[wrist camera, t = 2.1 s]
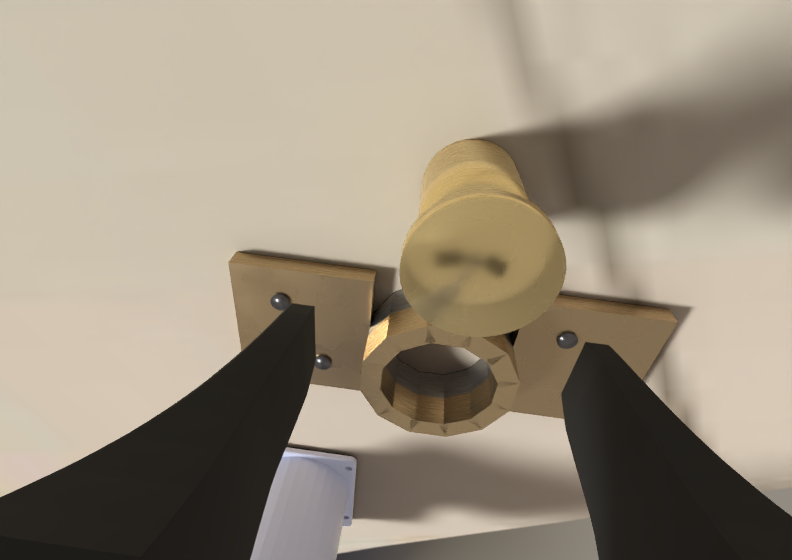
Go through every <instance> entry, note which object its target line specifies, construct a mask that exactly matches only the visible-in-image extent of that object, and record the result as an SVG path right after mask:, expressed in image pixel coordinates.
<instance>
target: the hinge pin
mask: <svg viewBox="0 0 792 560" xmlns="http://www.w3.org/2000/svg"><path fill="white" fill-rule="evenodd" d="M565 273H566V257H565V252H564V248H563V246H562V243H561V240H560V238H559V236H558V234H557V231H556V229H555V227H554V226H553V224H552V222H551V220H550V219H549V218H548V216H547V215H546V214H545V213H544V212H543V211H542V210H541V209H540V208H539V207H538V206H537V205H535V204H534V203H532V202H531V201H529V199H528V196H527V194H526V191H525V189H524V186H523V183H522V181H521V178H520V176H519V173H518V171H517V168H516V165H515V163H514V162H513V160H512V158H511V157H510V156H509V154H508V153H507V152H506V151H504V150H503V149H502V148H501V147H499V146H498V145H496V144H494V143H491V142H488V141H485V140H479V139H468V140H462V141H458V142H455V143H452V144H450V145H448V146H446V147H445V148H443V149H442V150H441V151H439V152H438V153H437V154H436V155H435V156H434V157H433V158H432V160H431V161H430V163H429V164H428V166H427V168H426V170H425V173H424V176H423V181H422V189H421V198H420V207H419V216H418V218H417V220H416V221H415V222H414V224H413V225H412V226H411V228H410V230H409V232H408V234H407V236H406V239H405V241H404V245H403V250H402V256H401V262H400V282H401V286H402V290H403V292H404V295H405V297H406V299H407V301H408V302H409V304H410V305H411V307H412V308H413V309H414V310H415V311H416V313H417V314H418V315H420V316H421V317H422V318H423V319H424V320H426V321H427V322H428V323H430V324H432V325H433V326H435V327H437V328H439V329H441V330H444V331H446V332H449V333H453V334H456V335H462V336H469V337H489V336H496V335H501V334H505V333H509V332H512V331H515V330H517V329H519V328H522V327H524V326H526V325H527V324H529V323H531V322H533V321H534V320H535V319H537V318H538V317H540V316H541V315H542V314H543V313H544V312H545V311H546V310H547V309H548V308H549V307H550V306H551V305H552V303H553V302H554V301H555V299H556V298H557V296H558V294H559V292H560V290H561V288H562V286H563V282H564V279H565Z"/></svg>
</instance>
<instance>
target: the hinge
mask: <svg viewBox="0 0 792 560" xmlns="http://www.w3.org/2000/svg"><path fill="white" fill-rule="evenodd" d="M228 263H229V270H230V276H231V283H232V290H233V296H234V303H235V310H236V316H237V323H238V330H239V337H240V343H241V350H244V349H245V348H246V347H247V346H248V345H249V344H250V343H251V342H252V341H253V340H254V339H256V338H257V337H258V336H259V335H260V334H261V333H262V332H263V331H264V330H265V329H266V328H267V327H268V326H269V325H270V324H271V323H272V322H273V321H274V320H275V319H276V318H277V317H278V316H279V315H280V314H281V313H282V312H283V311H284V310H285V309H286V308H287V307H288V306H289V305H290V304H292V303H294V304H302V305H309V306H315V347H316V362H315V366H314V370H313V373H312V377H311V381H310V384H316V385H324V386H331V387H338V388H345V389H352V390H360V391H361V392H362V393H363V395H364V396H365V398H366V399H367V401H368V402H369V403H370V405H371V406H372V408H373V409H374V411H375V412H376V413H377V415H379V416H380V417H382V418H384V419H386V420H388V421H390V422H392V423H394V424H395V425H397V426H399V427H401V428H403V429H405V430H407V431H409V432H416V433H423V434H430V435H438V436H446V437H447V436H452V435H457V434H462V433H467V432H472V431H477V430H482V429H484V428H485V427H487V426H488V425H490V424H491V423H492V422H494V421H495V420H497V419H498V418H500V417H501V416H503V415H504V414H506V413H507V412H509V411H512V412H519V413H526V414H534V415H541V416H548V417H555V418H563V419H564V413H563V405H562V397H561V393H562V391H563V389H564V386H565V384H566V382H567V380H568V378H569V376H570V374H571V372H572V369H573V367H574V365H575V363H576V361H577V359H578V357H579V355H580V352H581V350H582V348H583V346H584V344H585V342H590V343H598V344H605V345H609V346H610V347H611V348H612V349H613V350H614V351H615V352H616V353H617V354H618V355H619V356H620V357H621V358H622V359H623V360H624V361H625V362H626V363H627V364H628V365H629V366H630V367H631V369H632V370H633V371H634V372H635V373H636V374H637V375H638V376H639V377H640V378H641V379H642V380H643V378H644V376H645V375H646V373H647V371H648V370H649V368H650V367H651V365H652V363H653V362H654V360H655V359H656V357H657V355H658V354H659V352H660V350H661V349H662V347H663V346H664V344H665V342H666V341H667V339H668V337H669V336H670V334H671V333H672V331H673V329H674V328H675V326H676V325H677V323H678V321H677V320H676V319H675V317H674V316H673V314H672V313H671V311H670V310H669V309H663V308H656V307H648V306H641V305H633V304H626V303H618V302H610V301H603V300H595V299H588V298H580V297H573V296H565V295H558V296H557V298H556V299H555V301H554V302H553V303H552V305H551V306H550V307H549V308H548V309H547V310H546V311H545V312H544V313H543V314H542V315H541V316H540V317H538V318H537V319H535V320H534V321H533V322H531V323H529V324H527V325H526V326H524V327H522V328H519V329H517V330H515V331H512V332H511V333H510V332H509V333H505V334H501V335H496V336H489V337H469V336H462V335H456V334H453V333H449V332H446V331H444V330H441V329H439V328H437V327H435V326H433V325H432V324H430V323H428V322H427V321H426V320H424V319H423V318H422V317H421V316H420V315H418V314H417V313H416V311H415V310H414V309H413V308H412V307H411V305H410V304H409V302H408V301H407V299H406V297H405V295H404V292H403V290H400V291H396V292H394V293H393V294H392V295H391V296H390V297H389V298H388V299H387V300H386V301H385V302H384V303H383V305H382V306H381V307H380V308H379V309H378V310H377V311H376V312H375V313H374V314H373V315H372V313H373V302H374V290H375V278H376V270H369V269H361V268H353V267H346V266H338V265H331V264H323V263H316V262H308V261H301V260H293V259H285V258H278V257H270V256H263V255H255V254H248V253H240V252H236V253H235V255H234V256H233V257H232V258H231V260H230V261H229V262H228ZM429 343H433V344H441V345H448V346H456V347H463V348H465V349H467V350H468V351H470V352H471V353H473V354H475V355H476V356H478V357H479V358H481V359H480V360H479V361H478V362H476V363H475V364H474V365H473V366H471V367H470V368H469V369H467V370H463V371H459V372H455V373H450V374H446V375H439V374H432V373H425V372H419V371H417V370H415V369H413V368H412V367H410V366H408V365H407V364H405V363H403V362H401V361H400V360H398V358H397V357H396V355H397V354H398V353H399V352H400V351H403V350H407V349H411V348H414V347H418V346H422V345H426V344H429Z"/></svg>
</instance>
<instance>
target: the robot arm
mask: <svg viewBox="0 0 792 560" xmlns="http://www.w3.org/2000/svg"><path fill="white" fill-rule="evenodd" d="M315 362H316V347H315V306H309V305H302V304H294V303H292V304H290V305H289V306H288V307H287V308H286V309H285V310H284V311H283V312H282V313H281V314H280V315H279V316H278V317H277V318H276V319H275V320H274V321H273V322H272V323H271V324H270V325H269V326H268V327H267V328H266V329H265V330H264V331H263V332H262V333H261V334H260V335H259V336H258V337H257V338H256V339H254V340H253V341H252V342H251V343H250V344H249V345H248V346H247V347H246V348H245V349H244V350H242V351H241V352H240V353H239V354H238V355H237V356H236V357H235V358H233V359H232V360H231V361H230V362H229V363H227V364H226V365H225V366H224V367H223V368H221V369H220V370H219V371H218V372H217V373H215V374H214V375H213V376H212V377H211V378H209V379H208V380H207V381H205V382H204V383H203V384H202V385H200V386H199V387H198V388H196V389H195V390H194V391H192V392H191V393H189V394H188V395H187V396H185V397H184V398H182V399H181V400H180V401H178V402H177V403H175V404H174V405H172V406H171V407H169V408H168V409H166V410H165V411H163V412H162V413H160V414H159V415H157V416H156V417H154V418H152V419H151V420H149V421H148V422H146V423H145V424H143V425H141V426H140V427H138V428H136V429H135V430H133V431H132V432H130V433H128V434H126V435H125V436H123V437H121V438H119V439H117V440H116V441H114V442H112V443H110V444H108V445H107V446H105V447H103V448H101V449H99V450H98V451H96V452H94V453H92V454H90V455H88V456H86V457H84V458H82V459H81V460H79V461H77V462H75V463H73V464H71V465H69V466H67V467H65V468H63V469H61V470H58V471H56V472H54V473H52V474H50V475H48V476H46V477H44V478H41V479H39V480H37V481H35V482H33V483H31V484H29V485H26V486H24V487H22V488H20V489H18V490H16V491H14V492H11V493H9V494H7V495H4V496H2V497H0V560H336V557H337V551H338V546H339V541H340V535H341V530H342V526H350V525H351V524H352V518H353V505H354V492H355V479H356V466H357V460H356V459H355V458H354V457H351V456H345V455H338V454H331V453H324V452H317V451H310V450H303V449H295V448H288V447H286V446H287V444H288V441H289V439H290V436H291V434H292V431H293V429H294V426H295V424H296V421H297V419H298V416H299V413H300V411H301V408H302V406H303V403H304V401H305V398H306V395H307V392H308V388H309V385H310V381H311V377H312V373H313V370H314V366H315ZM561 397H562V405H563V413H564V420H565V426H566V431H567V435H568V439H569V443H570V446H571V450H572V454H573V457H574V461H575V464H576V468H577V471H578V475H579V478H580V482H581V485H582V489H583V492H584V496H585V499H586V503H587V506H588V510H589V513H590V517H591V522H592V526H593V530H594V534H595V540H596V545H597V551H598V556H599V560H792V517H791V516H790V515H789V514H788V513H786V512H785V511H784V510H782V509H781V508H780V507H779V506H777V505H776V504H775V503H773V502H772V501H771V500H770V499H768V498H767V497H766V496H765V495H763V494H762V493H761V492H760V491H758V490H757V489H756V488H755V487H754V486H752V485H751V484H750V483H749V482H748V481H747V480H745V479H744V478H743V477H742V476H741V475H740V474H738V473H737V472H736V471H735V470H734V469H732V468H731V467H730V466H729V465H728V464H727V463H725V462H724V461H723V460H722V459H721V458H720V457H719V456H718V455H717V454H715V453H714V452H713V451H712V450H711V449H710V448H709V447H708V446H707V445H706V444H705V443H704V442H703V441H702V440H701V439H699V438H698V437H697V436H696V435H695V434H694V433H693V432H692V431H691V430H690V429H689V428H688V427H687V426H686V425H685V424H684V423H683V422H682V421H681V420H680V419H679V418H678V417H677V416H676V415H675V414H674V413H673V412H672V411H671V410H670V409H669V408H668V407H667V406H666V405H665V404H664V403H663V402H662V401H661V400H660V399H659V397H658V396H657V395H656V394H655V393H654V392H653V391H652V390H651V389H650V388H649V387H648V386H647V385H646V384H645V383H644V381H643V380H642V379H641V378H640V377H639V376H638V375H637V374H636V373H635V372H634V371H633V370H632V369H631V367H630V366H629V365H628V364H627V363H626V362H625V361H624V360H623V359H622V358H621V357H620V356H619V355H618V354H617V353H616V352H615V351H614V350H613V349H612V348H611V347H610V346H609V345H605V344H598V343H590V342H585V344H584V346H583V348H582V350H581V352H580V355H579V357H578V359H577V361H576V363H575V365H574V367H573V369H572V372H571V374H570V376H569V378H568V380H567V382H566V384H565V386H564V389H563V391H562V393H561Z"/></svg>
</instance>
